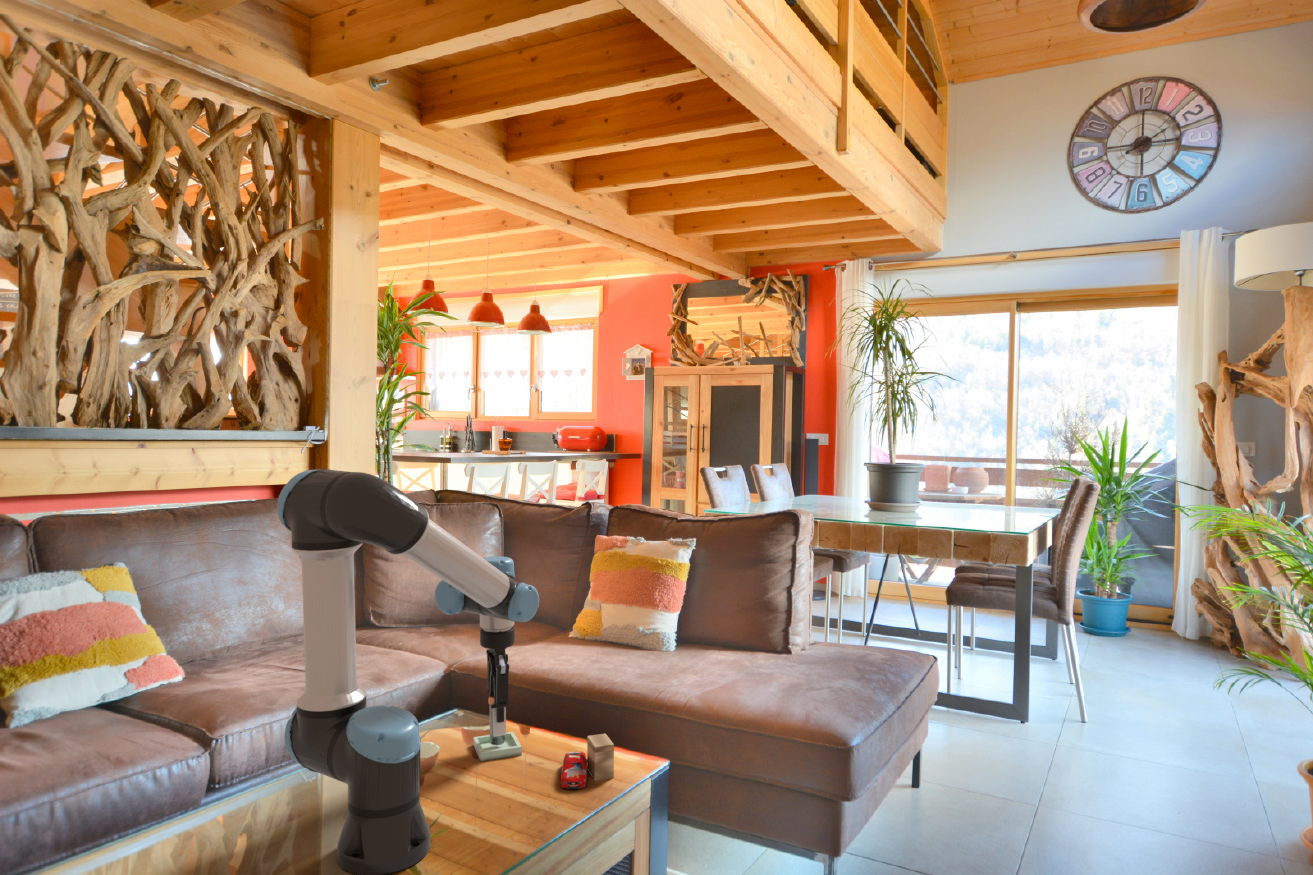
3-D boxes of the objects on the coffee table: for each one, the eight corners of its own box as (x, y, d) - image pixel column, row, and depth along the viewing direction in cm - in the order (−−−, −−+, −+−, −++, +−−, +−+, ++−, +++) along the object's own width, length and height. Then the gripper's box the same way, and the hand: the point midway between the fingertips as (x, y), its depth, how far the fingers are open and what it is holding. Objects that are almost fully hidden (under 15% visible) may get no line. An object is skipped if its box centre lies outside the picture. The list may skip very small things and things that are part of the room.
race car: (586, 793, 164) (586, 773, 164) (558, 793, 164) (558, 773, 163) (589, 763, 177) (589, 745, 177) (564, 764, 177) (564, 745, 177)
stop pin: (490, 746, 181) (490, 701, 180) (487, 740, 184) (487, 696, 184) (507, 744, 182) (507, 699, 182) (504, 737, 186) (504, 693, 185)
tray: (480, 761, 177) (480, 752, 177) (473, 745, 186) (473, 737, 185) (521, 754, 181) (521, 746, 180) (513, 739, 189) (513, 731, 189)
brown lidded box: (594, 780, 168) (594, 747, 168) (586, 768, 174) (587, 735, 174) (614, 778, 170) (614, 744, 169) (605, 765, 175) (605, 733, 175)
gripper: (522, 635, 176) (522, 743, 177) (506, 617, 191) (507, 716, 192) (487, 638, 173) (487, 748, 174) (474, 620, 188) (474, 721, 189)
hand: (497, 731), depth 183 cm, fingers closed on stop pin, 3 cm apart
